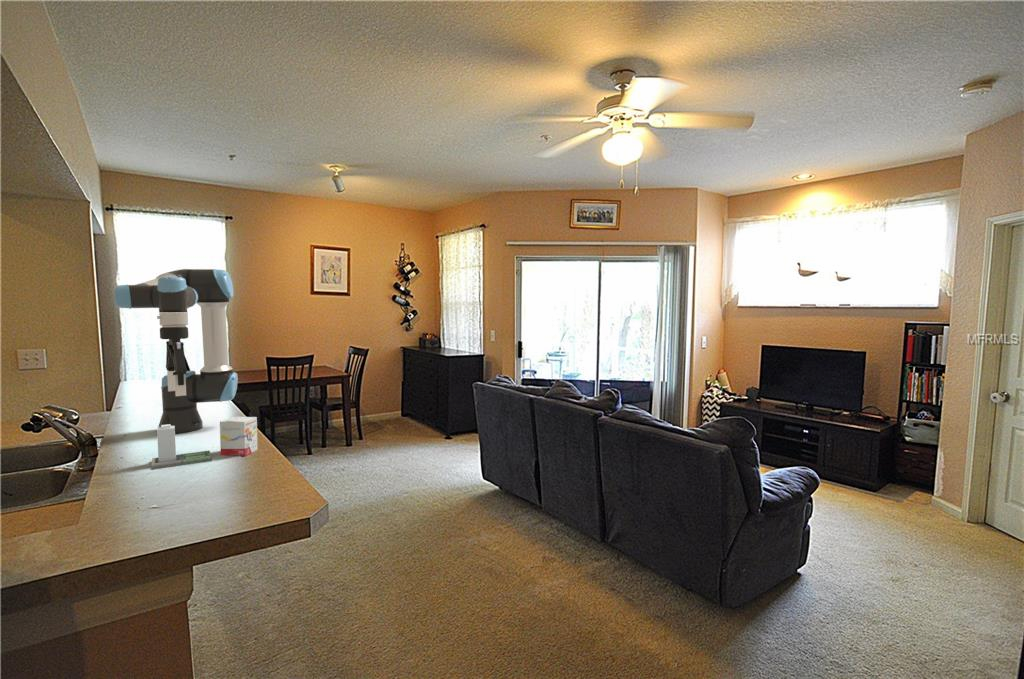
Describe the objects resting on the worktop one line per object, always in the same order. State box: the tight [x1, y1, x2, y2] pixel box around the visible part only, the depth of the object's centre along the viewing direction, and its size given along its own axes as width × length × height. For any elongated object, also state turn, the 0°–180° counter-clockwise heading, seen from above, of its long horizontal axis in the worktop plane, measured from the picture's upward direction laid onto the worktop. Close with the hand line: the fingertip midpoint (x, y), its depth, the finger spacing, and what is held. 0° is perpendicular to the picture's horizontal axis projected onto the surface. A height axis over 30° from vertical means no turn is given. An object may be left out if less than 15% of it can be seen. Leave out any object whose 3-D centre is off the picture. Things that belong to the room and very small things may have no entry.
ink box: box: [219, 416, 258, 457], centre depth 174 cm, size 9×9×12 cm
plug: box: [156, 424, 177, 463], centre depth 162 cm, size 4×4×12 cm
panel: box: [150, 450, 213, 471], centre depth 164 cm, size 13×16×2 cm
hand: (176, 393), depth 163 cm, fingers open, 13 cm apart
